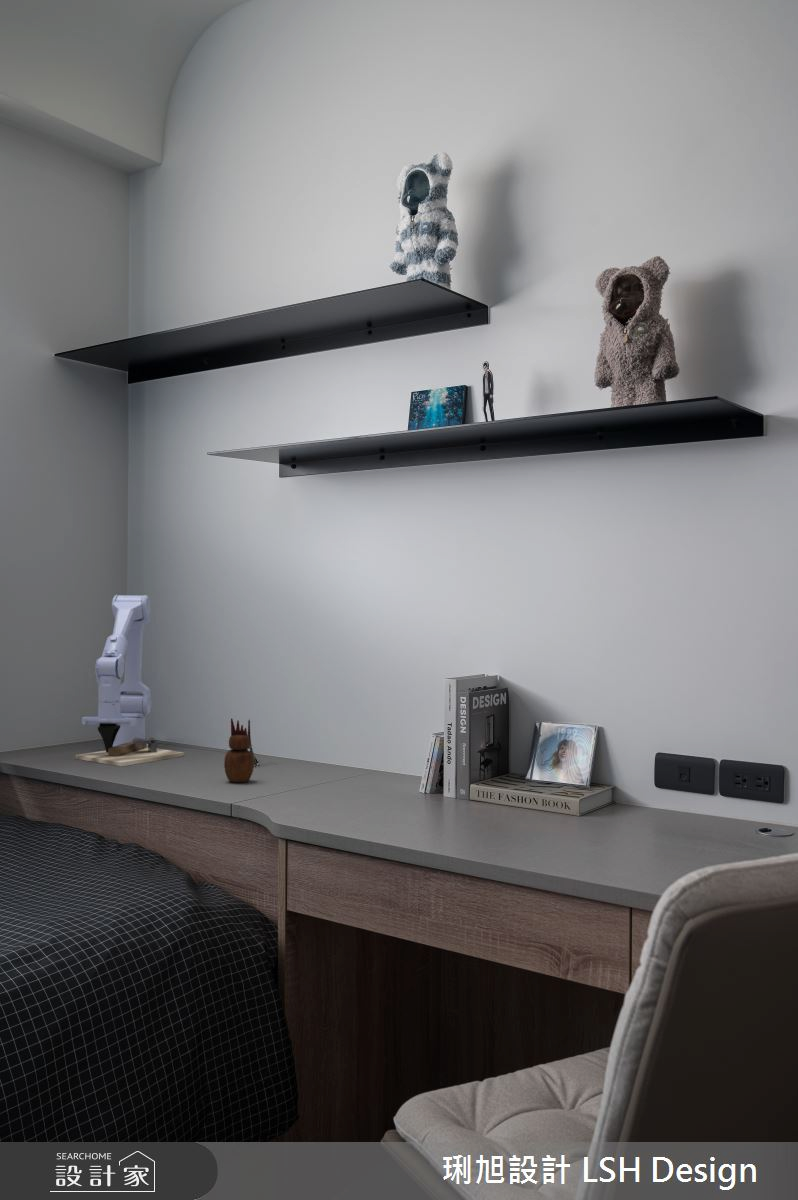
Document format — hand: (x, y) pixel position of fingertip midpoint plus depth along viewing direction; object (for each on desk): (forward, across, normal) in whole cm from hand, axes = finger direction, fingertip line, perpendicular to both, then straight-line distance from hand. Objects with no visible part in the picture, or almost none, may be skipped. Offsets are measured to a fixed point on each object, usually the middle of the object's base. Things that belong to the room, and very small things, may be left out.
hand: (109, 752), depth 258 cm
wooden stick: (+1, +3, +6) cm, 7 cm away
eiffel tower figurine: (+3, +39, -2) cm, 39 cm away
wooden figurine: (+2, +43, -25) cm, 50 cm away
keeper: (+1, +7, +7) cm, 10 cm away
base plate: (+2, +5, +3) cm, 6 cm away
